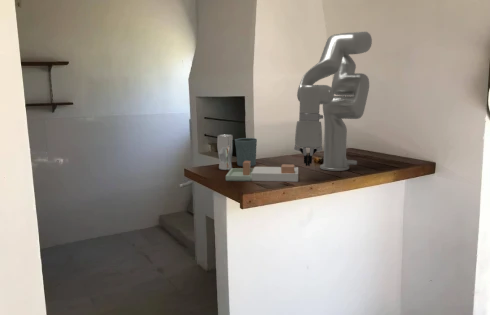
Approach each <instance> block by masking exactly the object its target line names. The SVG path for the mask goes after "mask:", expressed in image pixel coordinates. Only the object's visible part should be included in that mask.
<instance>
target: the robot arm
mask: <svg viewBox="0 0 490 315" xmlns="http://www.w3.org/2000/svg"><path fill="white" fill-rule="evenodd" d="M326 40H327V41H325V45H324V47H323V50H322V52H321V56H320V59H319V61H318V63H316V64H314V65H313V66H312V67H311V68H310V69H308V70H307V71H306V72H305V73H304V74H303V76H302V77H301V80H300V83H299V85H298V88H297V93H296V96H297V101H298V102H299V117H298V121H297V122H296V125H295V135H294V136H295V137H294V143H295V144H294V150H295V151H299V152H301V154H302V155H303V164H305V167H311V164H313V160H312V159H313V156H314V154H315V153H316V152H320V151H323V163H322V164H320V165H319V168H320V169H321V170H324V171H332V172H341V171H348V170H349V169H350V166H357V165H358V161H357V160H354V159H348V158H347V138H348V137H347V136H348V135H347V134H348V132H347V131H348V129H347V126H346V123H345V122H344V121H343V120H344V119H345V120H347V119H348V120H358V119H360V118H362V117H363V115H364V112H365V109H366V104H367V100H368V96H369V92H370V80H369V77H368V75H367V74H365V73H359V72H357V73H356V68H357V66H356V62H355V60H354V59H353V58H352V57H351V56H350V55H361V54H364V53H367V52H368V51H369V50H370V49H371V47H372V45H373V39H372V36H371V33H369V32H368V31H356V32H354V31H353V32H343V33H336V34H332V35H330V36H329V37H328V39H326ZM332 75H333V77H332V82H331V86H330V85H327V84H316V83H317V82H319V81H321V80H322V79H325V78H328V77H330V76H332ZM321 105H322V112H323V114H320V110H321V109H320V108H321V107H320V106H321ZM320 120H323V122H324V129H322V127H323V126H322V122H321V121H320ZM323 130H324V134H323ZM323 137H324V138H323ZM323 141H324V142H323ZM323 143H324V144H323ZM322 145H323V146H322ZM307 148H309V153H307Z"/></svg>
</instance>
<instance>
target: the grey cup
mask: <svg viewBox="0 0 490 315" xmlns="http://www.w3.org/2000/svg"><path fill="white" fill-rule="evenodd" d="M257 140H258V139H257V138H255V137H254V138H253V137H241V138H235V139H234V145H235V153H236V155H235V156H236V164H237V166H238V167H243V162H244V161H251V167H256V165H257V160H256V159H257V144H258V142H257Z"/></svg>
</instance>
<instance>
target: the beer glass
mask: <svg viewBox="0 0 490 315" xmlns="http://www.w3.org/2000/svg"><path fill="white" fill-rule="evenodd" d="M233 138H234V137H233V134H218V135H217V141H216V143H217V144H216V145H217V146H216V147H217V148H216V149H217V154H218V159H219V164H218V170H220V171H230V170H231V168H233V164H232V158H233V150H234V139H233Z"/></svg>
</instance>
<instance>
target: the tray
mask: <svg viewBox="0 0 490 315" xmlns="http://www.w3.org/2000/svg"><path fill="white" fill-rule="evenodd" d="M253 169H254V168H251V173H252V171H253ZM251 173H250V175H243V167H242V168H241V167H240V168H239V167H237V168H236V167H235V168H233V167H232V168H231V170H228V172H227V173H226V175H225V181H226V182H251V181H252V179H251Z"/></svg>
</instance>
